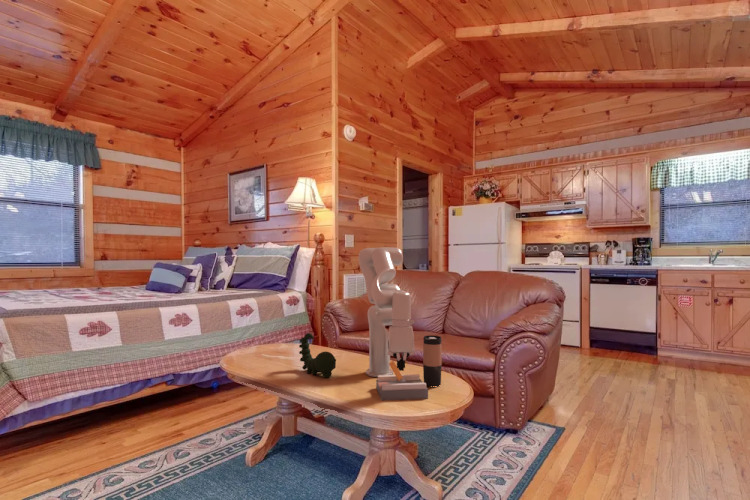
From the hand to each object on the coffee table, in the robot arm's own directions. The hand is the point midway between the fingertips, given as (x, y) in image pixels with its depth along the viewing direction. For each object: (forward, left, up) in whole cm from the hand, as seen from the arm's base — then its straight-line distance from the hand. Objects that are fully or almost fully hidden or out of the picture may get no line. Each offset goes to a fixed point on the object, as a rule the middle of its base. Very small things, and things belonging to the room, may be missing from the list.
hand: (400, 369), depth 158 cm
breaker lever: (0, +1, -5) cm, 5 cm away
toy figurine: (-29, -33, -9) cm, 45 cm away
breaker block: (0, 0, -9) cm, 9 cm away
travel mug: (-9, +15, -9) cm, 20 cm away
